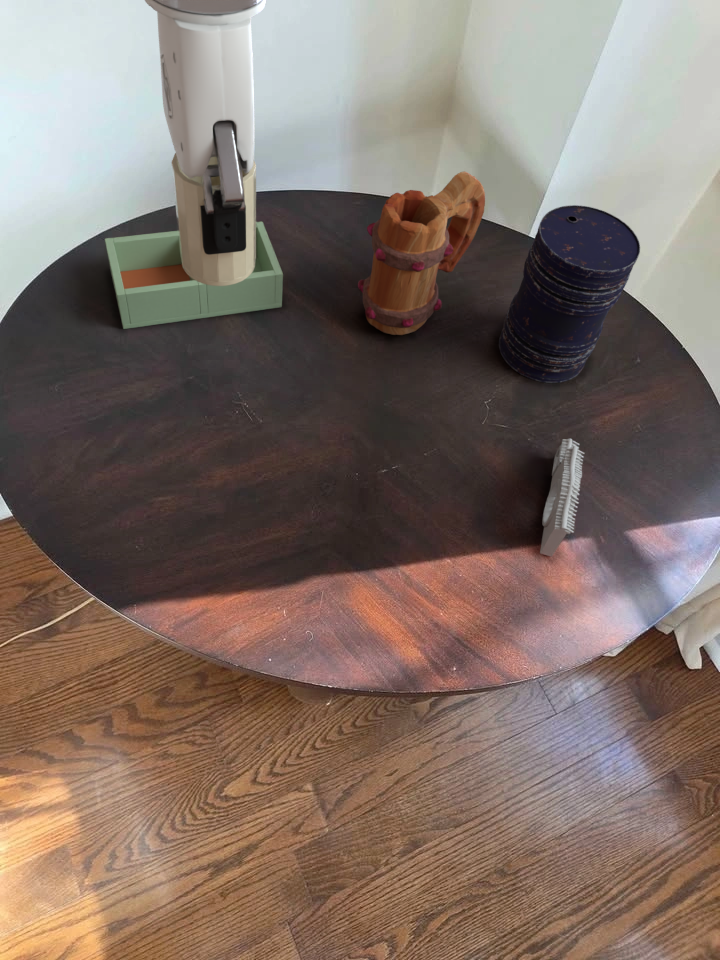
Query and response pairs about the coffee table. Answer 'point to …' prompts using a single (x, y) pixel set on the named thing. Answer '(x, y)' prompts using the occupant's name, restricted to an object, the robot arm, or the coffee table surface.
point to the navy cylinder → (567, 292)
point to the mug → (418, 252)
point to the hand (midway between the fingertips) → (216, 220)
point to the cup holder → (184, 282)
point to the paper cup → (188, 212)
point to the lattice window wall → (562, 496)
